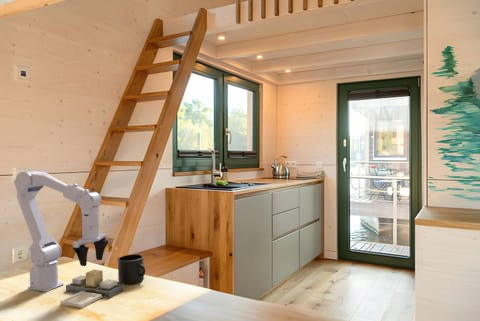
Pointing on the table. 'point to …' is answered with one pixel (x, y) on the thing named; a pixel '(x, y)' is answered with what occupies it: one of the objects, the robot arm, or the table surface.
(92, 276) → the wooden block
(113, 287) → the rail
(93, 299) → the parts tray
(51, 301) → the table surface
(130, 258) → the mug
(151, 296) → the table surface
